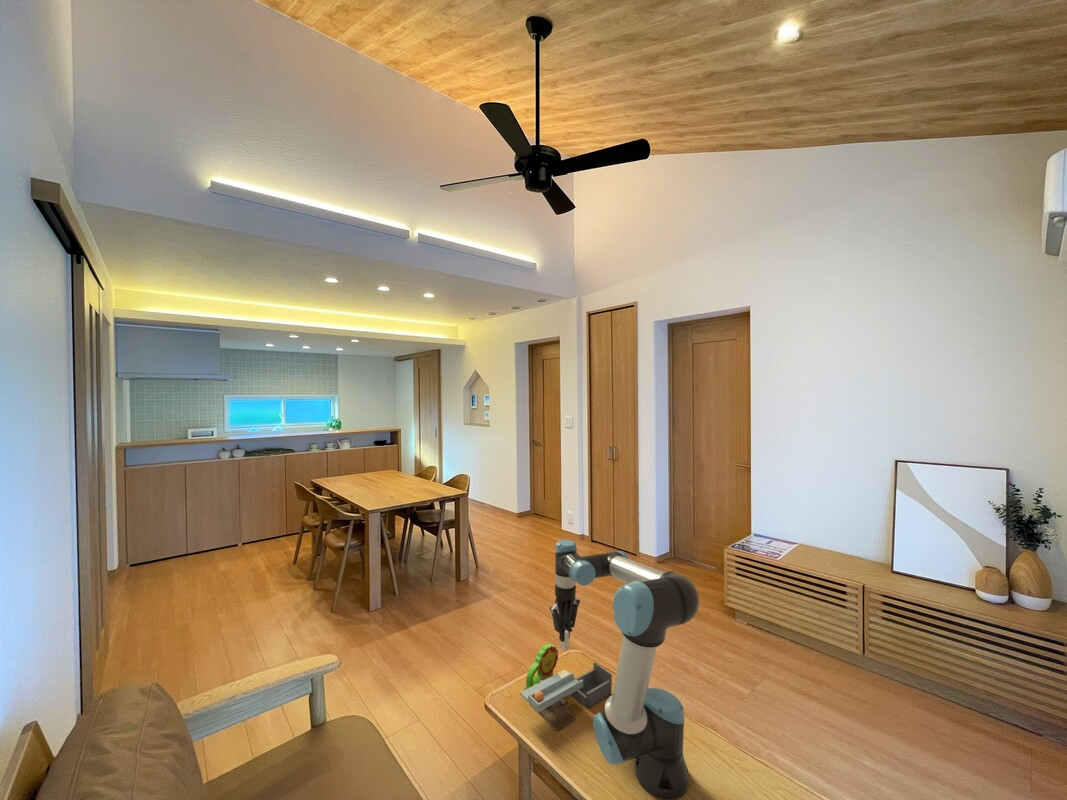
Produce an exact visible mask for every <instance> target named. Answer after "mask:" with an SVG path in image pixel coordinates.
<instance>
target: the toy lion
mask: <svg viewBox="0 0 1067 800" xmlns="http://www.w3.org/2000/svg"><path fill="white" fill-rule="evenodd" d="M558 654H559V649H558V648H557V646H555V645H553V644H550V643H546V645H542V646H541V648H540V650H538V652H537V654H536V657H535V660H534V662H533V663H532V665H531V666H530V668H529V669H528V672H527V674H526V683H525V685H524V687H523V691H524V690H526V689H528V688H530V687H532V686H534V685H536V684H538V683H539V681H540V680H543V681H544V680H546V679H547V678H549V677H551V676H553V675H554V669H555V668H556V667H557V662H558V660H559V655H558ZM535 674H536V675H535Z"/></svg>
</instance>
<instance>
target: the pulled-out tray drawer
mask: <svg viewBox="0 0 1067 800" xmlns="http://www.w3.org/2000/svg"><path fill="white" fill-rule="evenodd" d="M592 667H593V668H592V669H591V670H589V671H587V672H585V673H582V674H581V675H580V676H577V677H575V679H576V680H578V681H580V680H583V687H582V688H580V689H579V690H577V691H575V692H573V693H572V694H570V696H571V697H573V699H575V701H577V702H578V703H579V704H581V705H582V706H583V707H584V708H585V709H587V710H589V709H592V707H594V706H596V705H598V704H599V703H600V702H601V703H602V701H604V700H605V699H606V700H607V699H608V698H609V697H610V696H611V695H612V694H613V691H612V689H613V688H612V685H613V684H612V683H613V675H612V672H611V671H609V670H607V669H606V668H605V667H603V666H602V665H600V664H599V663H597V661H594V662H593V666H592Z"/></svg>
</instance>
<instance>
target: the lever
mask: <svg viewBox="0 0 1067 800" xmlns="http://www.w3.org/2000/svg"><path fill="white" fill-rule="evenodd" d="M574 675H575V674H574V672H573V671H571V672H569V671H567V670H566V668H565V669H563V670H561V671H559V672H557V673H556V674H553V676H551V677H549V678H547V679H546V680H544V681H543V680H540V681H539V683H538V684H536V685H534V686H532V687H530V688H528V689H526V690H524V689H523V690H522V691H520V696H521V697H522V698H523V699H524V700H525V701H526V702H527V703H528V704H529V705H530V707H532V709H534V711H536V713H538V712H540V711H542V710H543V709H545V708H547V707H549V706H550V705H552V704H554V703H556V702H560V703H563V704H565V703H566V702H567V700H566V699H564V698H566V697H568V696H569V695H570V696H571V694H572V693H573V692H575V691H577V690H579V689H580V688H582V687H583V680H580V681H578V680H576V677H574ZM538 691H541V692H542V693H543V694H544V700H543V701H542V702H540V703H538V702H537V701H536V700H535V698H534V696H535V693H536V692H538Z"/></svg>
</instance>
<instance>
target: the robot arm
mask: <svg viewBox="0 0 1067 800" xmlns="http://www.w3.org/2000/svg"><path fill="white" fill-rule="evenodd" d="M577 551H578V549H577V544H576V542H575V541H573V540H570V539H563V540H562V539H561V540H558V541H557V542H556V544H555V551H554V553H555V554H554V555H555V556H554V559H555V562H554V565H555V567H554V570H555V571H554V573H555V574H554V584H555V585H554V596H555V601H554V605H553V606H550V607H549V610H550V612H551V616H552V621H553V626H554V627H553V628H554V630H555V631H556V632H557V633H559V637H558V638H559V641H560V642H559V643H560V645H559V647H560V648H561V649H562V650H563V651H565V652H567V651H568V650H569V649H570V647H569V646H570V645H569V643H570V642H569V639H570V638H571V633H572V631H573V629H572V628H575V626H576V620H577V614H578V608H579V605H580V603H581V600H580V599H578V598H577V597H576V595H577V593H576V592H577V591H576V590H577V589H576V588H577V586H576V584H578V585H579V586H588V585H589V586H590V584H591V583H593V582H594V580H595V579H599V578H603V577H604V578H605V577H612V578H614V579H616V580H618V581H620V582H621V583H625V584H623V585H621V586H620V587H618V589H617V590H616V592H615V594H614V597H613V600H612V602H613V603H612V610H613V612H614V614H613V617H614V621H615V624H616V626H617V628H618V629H619V630H620V633H621V634H622V639H621V640H622V642H621V647H620V651H619V657H618V663H617V670H616V672H615V673H616V674H615V678H614V679H615V680H614V686H613V691H612V694H611V695H610V696H609V697H607V698H606V701H605V703H604V708H603V712H598V713H597V714H595V715H593V716H594V717H593V719H592V721H593V722H592V723H593V730H594V736H595V739H596V742H597V745H598V747H599V750H600V752H601V754H602V757H604V759H605V760H606V762H607V763H609V764H610V765H618V764H624V763H626V762H628V761H631V760H633V759H635V761H634V773H635V777H636V780H637V781H638V783H639V784H640V785H641V787H642V788H643V789H644V790H645V791H647V792H648V794H649V793H650V794H651V795H653V796H655V797H657V798H660V799H663V800H674V799H675V800H677V799H679V798H680V797H682V796H684V795H685V794H686V793H687V791H688V789H689V786H690V785H689V784H690V777H689V776H690V775H689V770H688V766H687V764H686V761H685V755H684V731H685V729H684V728H685V727H684V726H685V715H684V707H683V704H682V702H681V700H680V699H679V698H678V697H677V696H676V695H674V694H673V693H672V692H670V691H667V690H665V689H664V688H660V687H659V688H658V687H649V684H650V680H651V676H652V675H651V674H652V671H653V665H654V660H655V655H656V650H657V648H658V647H660V646H661V645H663V644H664V642H665V639H666V633H667V630H668V629H669V628H673V627H676V626H680V625H684V624H687V623H689V622H691V620H692V619H693V618H695V616H696V614H697V613H698V610H699V607H700V597H699V591H698V589H697V588H696V586H695V584H694V583H693V582H692V581H691V579H690V578H688V577H686V576H684V574H683V575H682V574H680V573H678V572H675V571H672V570H666V571H662V570H660V569H659V570H658V569H656V568H655V567H651V566H648V565H647V564H644V563H641V562H638V561H635V560H633V559H630V558H629V556H628V555H627V554H626V553H625V551H621V550H618V551H616V550H615V551H610V552H603V553H598V554H597V553H596V554H591V555H590V554H588V555H584V556H582V555H580V554H579V553H577Z"/></svg>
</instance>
